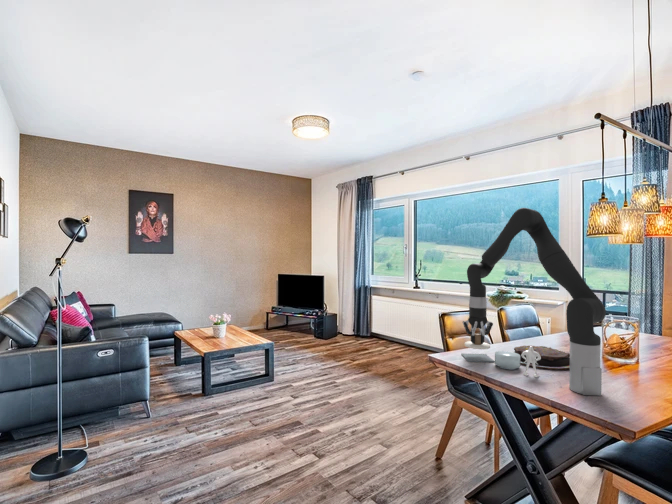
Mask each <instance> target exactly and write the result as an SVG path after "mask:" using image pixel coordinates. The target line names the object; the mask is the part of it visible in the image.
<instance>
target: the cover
mask: <svg viewBox="0 0 672 504" xmlns="http://www.w3.org/2000/svg"><path fill="white" fill-rule="evenodd" d="M474 336H475V344H473V343H472V342H471V340H467V341H465V342H464V347H466V348H469V349H473V350H489V349H491V344H490V343H488V342H484V343H483V344H481V333H475V334H474Z"/></svg>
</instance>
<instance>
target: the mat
mask: <svg viewBox="0 0 672 504" xmlns="http://www.w3.org/2000/svg"><path fill="white" fill-rule="evenodd" d="M461 356H462V357H463V358H464V359H465V360H466V361H467V362H468V363H495V359H493V358H491V357H490V356H489V355H488V354H487V353H464V352H463V353H462V352H461Z"/></svg>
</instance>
